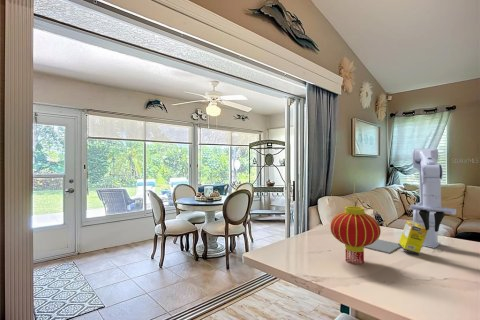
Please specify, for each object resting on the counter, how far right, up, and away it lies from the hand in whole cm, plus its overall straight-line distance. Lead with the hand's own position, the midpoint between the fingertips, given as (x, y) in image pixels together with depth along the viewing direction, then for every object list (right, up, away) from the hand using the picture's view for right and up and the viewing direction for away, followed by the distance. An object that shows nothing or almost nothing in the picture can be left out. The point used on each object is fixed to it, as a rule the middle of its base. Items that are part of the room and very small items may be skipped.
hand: (431, 230), depth 103 cm
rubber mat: (-13, -11, +15) cm, 23 cm away
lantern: (-32, -11, -4) cm, 34 cm away
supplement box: (-5, -10, +6) cm, 13 cm away
